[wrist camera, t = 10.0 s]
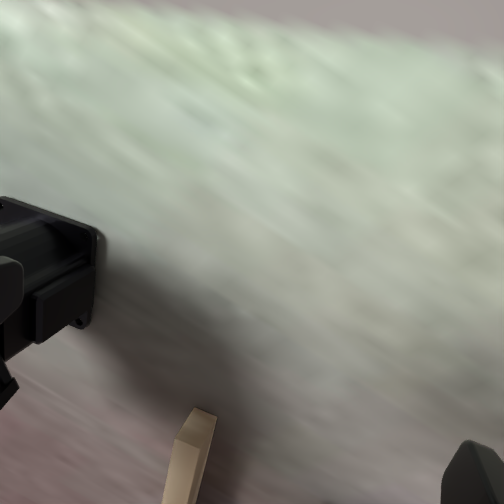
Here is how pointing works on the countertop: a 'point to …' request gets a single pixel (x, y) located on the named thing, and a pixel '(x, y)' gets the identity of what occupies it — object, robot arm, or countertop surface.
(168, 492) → the guarded bay
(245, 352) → the countertop surface
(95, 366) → the countertop surface
